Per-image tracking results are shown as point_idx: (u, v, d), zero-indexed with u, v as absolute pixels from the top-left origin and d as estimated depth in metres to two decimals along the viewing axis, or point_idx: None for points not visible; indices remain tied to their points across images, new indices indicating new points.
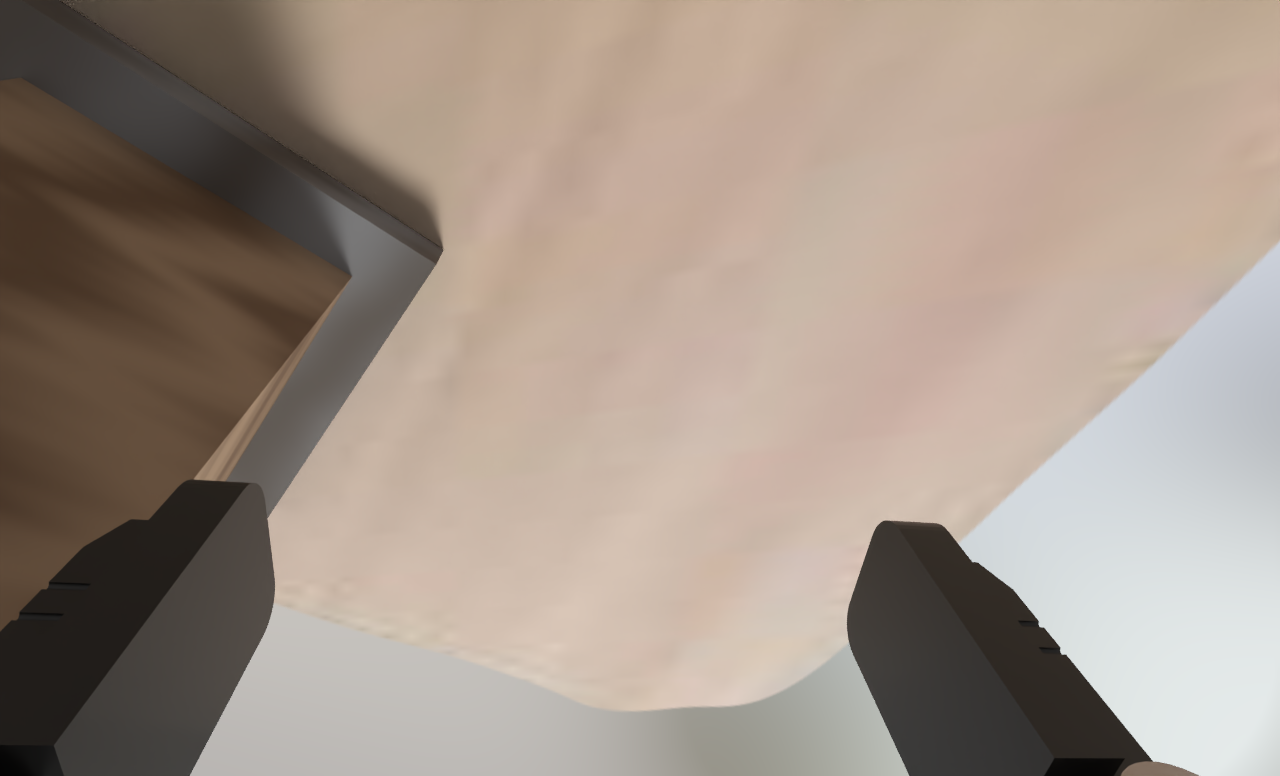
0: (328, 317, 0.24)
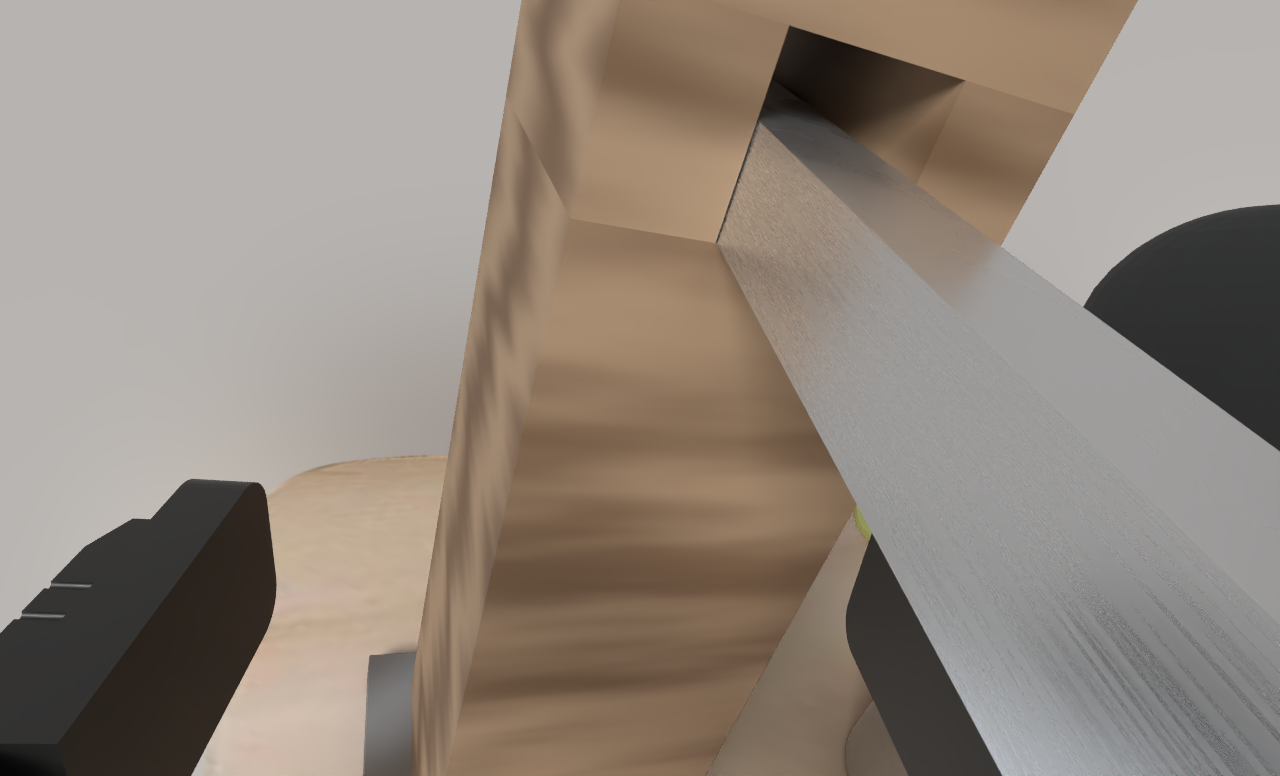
0: None
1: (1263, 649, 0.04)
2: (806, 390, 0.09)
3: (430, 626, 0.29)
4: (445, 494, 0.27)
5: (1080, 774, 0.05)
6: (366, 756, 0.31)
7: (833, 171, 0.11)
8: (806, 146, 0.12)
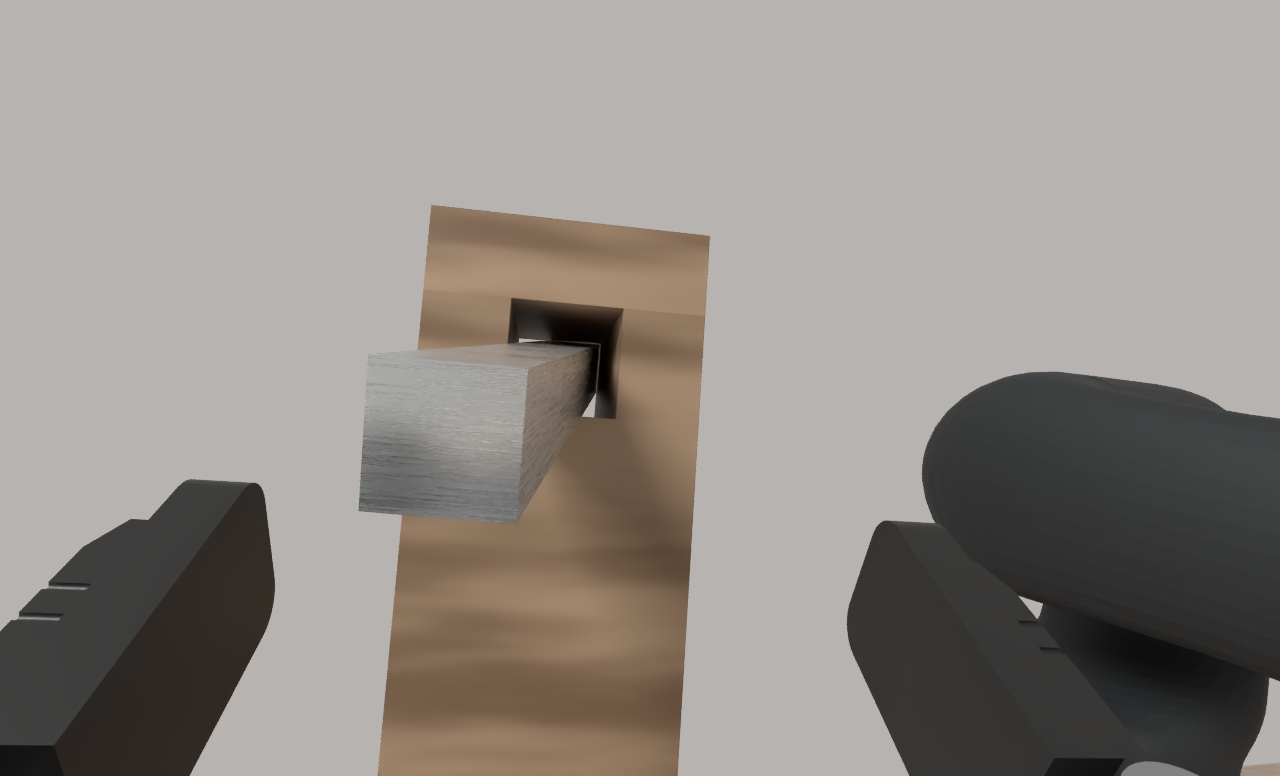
0: None
1: None
2: None
3: None
4: None
5: None
6: None
7: (517, 345, 0.21)
8: (524, 345, 0.22)
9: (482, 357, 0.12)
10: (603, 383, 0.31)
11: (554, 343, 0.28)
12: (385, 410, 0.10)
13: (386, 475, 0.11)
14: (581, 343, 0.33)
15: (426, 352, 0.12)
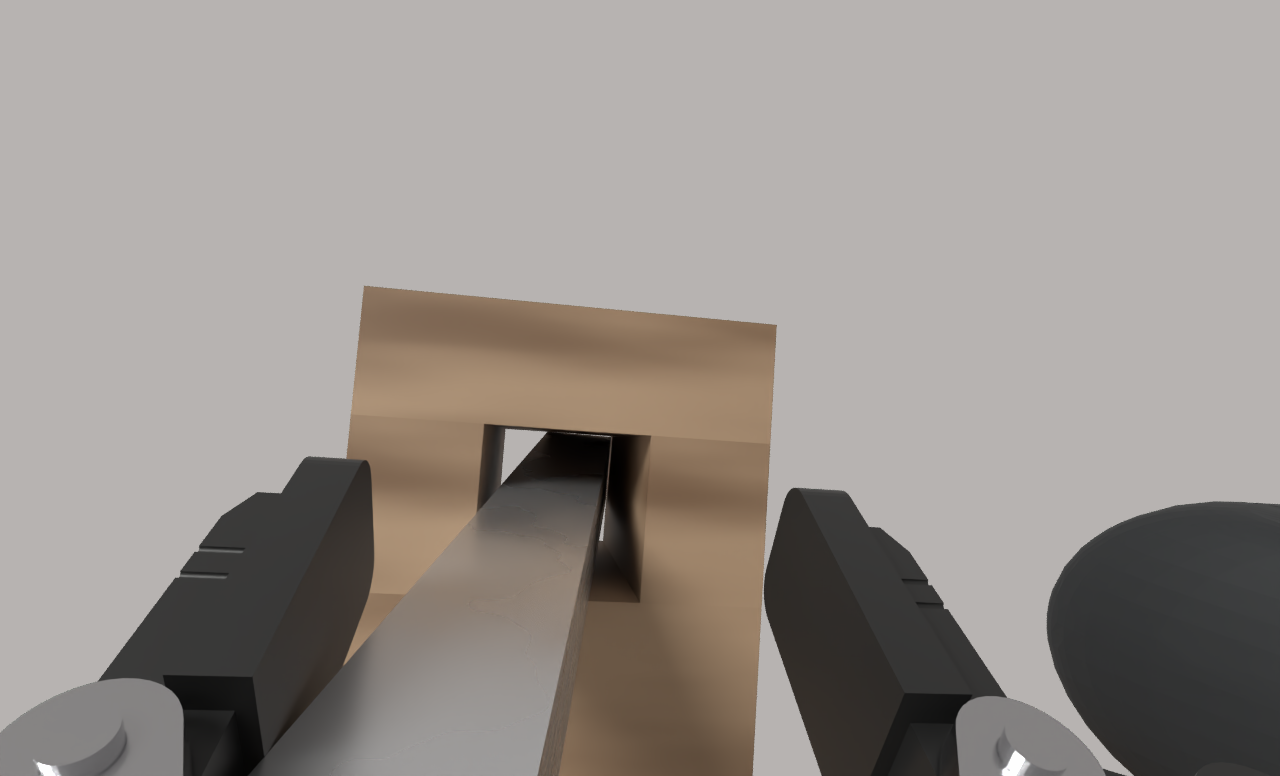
0: None
1: None
2: None
3: None
4: None
5: None
6: None
7: (485, 540, 0.13)
8: (500, 519, 0.14)
9: None
10: (617, 503, 0.23)
11: (550, 465, 0.20)
12: None
13: None
14: (587, 440, 0.25)
15: None
